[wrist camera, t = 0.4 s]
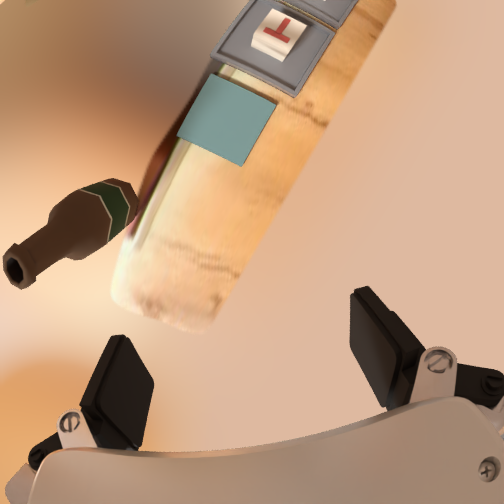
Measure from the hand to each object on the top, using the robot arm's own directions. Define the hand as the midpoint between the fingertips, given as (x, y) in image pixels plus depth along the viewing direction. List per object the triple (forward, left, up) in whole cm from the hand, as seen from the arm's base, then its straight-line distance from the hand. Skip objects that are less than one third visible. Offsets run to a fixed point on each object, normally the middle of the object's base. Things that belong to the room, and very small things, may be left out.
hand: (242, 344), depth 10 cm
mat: (-11, +1, -30) cm, 32 cm away
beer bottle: (-3, -17, -30) cm, 35 cm away
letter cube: (-23, +9, -30) cm, 38 cm away
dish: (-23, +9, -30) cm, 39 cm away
